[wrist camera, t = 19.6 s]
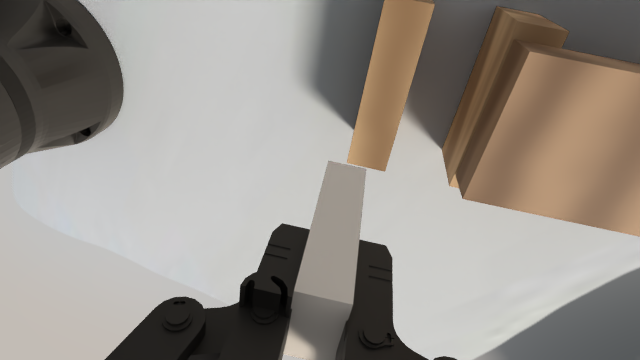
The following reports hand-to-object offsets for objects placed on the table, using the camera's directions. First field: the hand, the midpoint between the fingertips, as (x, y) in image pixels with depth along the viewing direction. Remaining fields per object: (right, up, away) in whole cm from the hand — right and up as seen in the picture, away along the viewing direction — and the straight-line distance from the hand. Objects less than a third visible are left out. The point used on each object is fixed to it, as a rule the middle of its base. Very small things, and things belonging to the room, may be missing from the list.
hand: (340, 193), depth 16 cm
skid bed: (+9, +9, +16) cm, 20 cm away
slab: (+18, +3, +10) cm, 21 cm away
